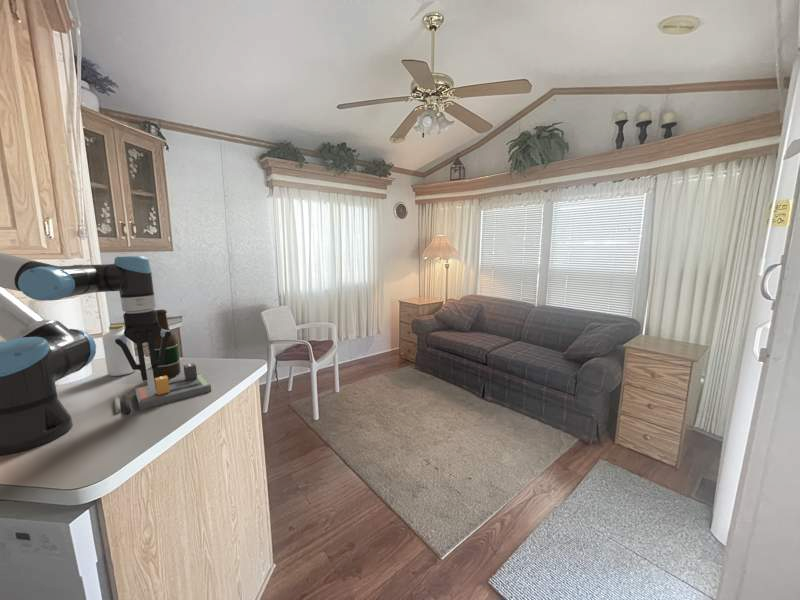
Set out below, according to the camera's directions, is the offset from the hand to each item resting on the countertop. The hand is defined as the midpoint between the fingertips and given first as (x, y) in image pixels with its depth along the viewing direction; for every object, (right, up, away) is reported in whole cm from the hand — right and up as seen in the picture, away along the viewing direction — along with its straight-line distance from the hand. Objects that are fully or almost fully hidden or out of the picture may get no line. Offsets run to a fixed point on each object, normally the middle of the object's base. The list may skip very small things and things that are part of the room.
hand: (151, 389), depth 96 cm
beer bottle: (-11, -1, +22) cm, 25 cm away
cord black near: (-6, -4, -2) cm, 7 cm away
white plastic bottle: (-30, -1, +25) cm, 39 cm away
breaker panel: (+2, -3, +7) cm, 8 cm away
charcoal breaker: (+3, 0, +13) cm, 13 cm away
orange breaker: (+2, -1, +2) cm, 3 cm away
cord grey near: (-8, -4, -2) cm, 10 cm away
